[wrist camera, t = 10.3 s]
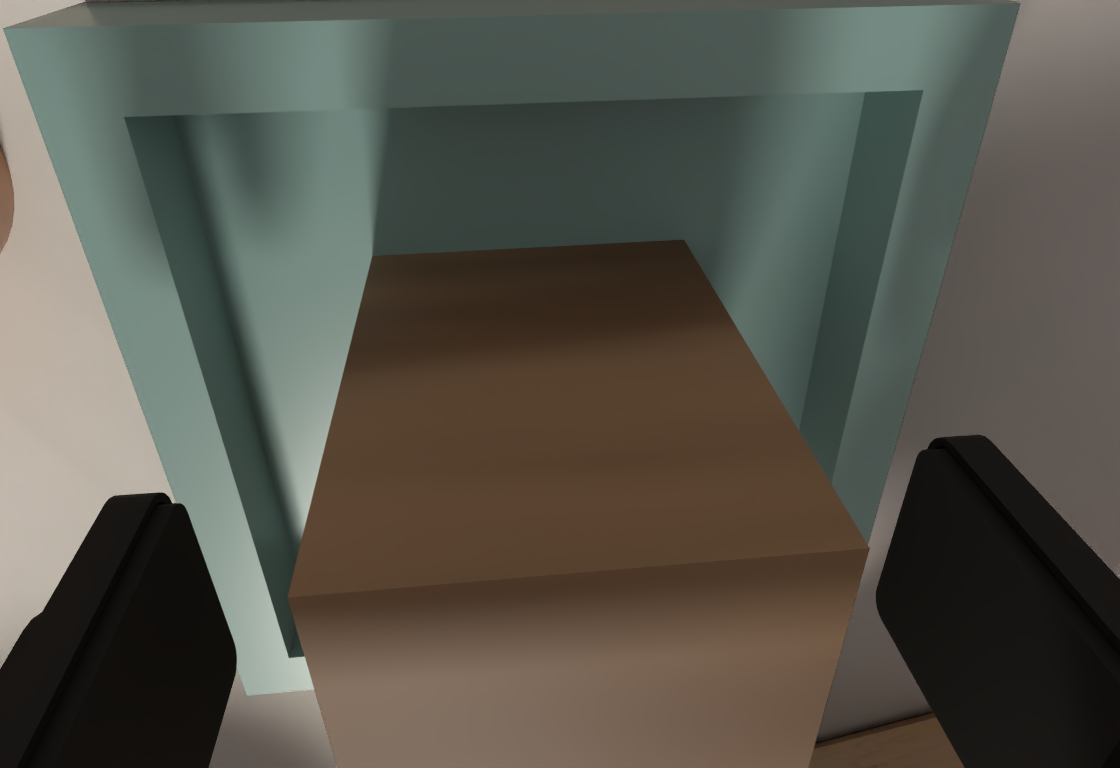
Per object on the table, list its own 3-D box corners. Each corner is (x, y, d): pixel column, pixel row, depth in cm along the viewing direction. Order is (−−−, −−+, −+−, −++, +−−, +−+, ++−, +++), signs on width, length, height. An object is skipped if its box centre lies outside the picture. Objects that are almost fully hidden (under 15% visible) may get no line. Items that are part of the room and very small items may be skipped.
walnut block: (372, 255, 12) (287, 597, 6) (683, 239, 13) (869, 548, 7) (409, 496, 15) (372, 890, 9) (665, 477, 15) (787, 843, 10)
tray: (270, 607, 17) (246, 695, 15) (83, 1, 11) (3, 28, 9) (802, 564, 18) (840, 642, 16) (932, -17, 12) (1020, 3, 10)
